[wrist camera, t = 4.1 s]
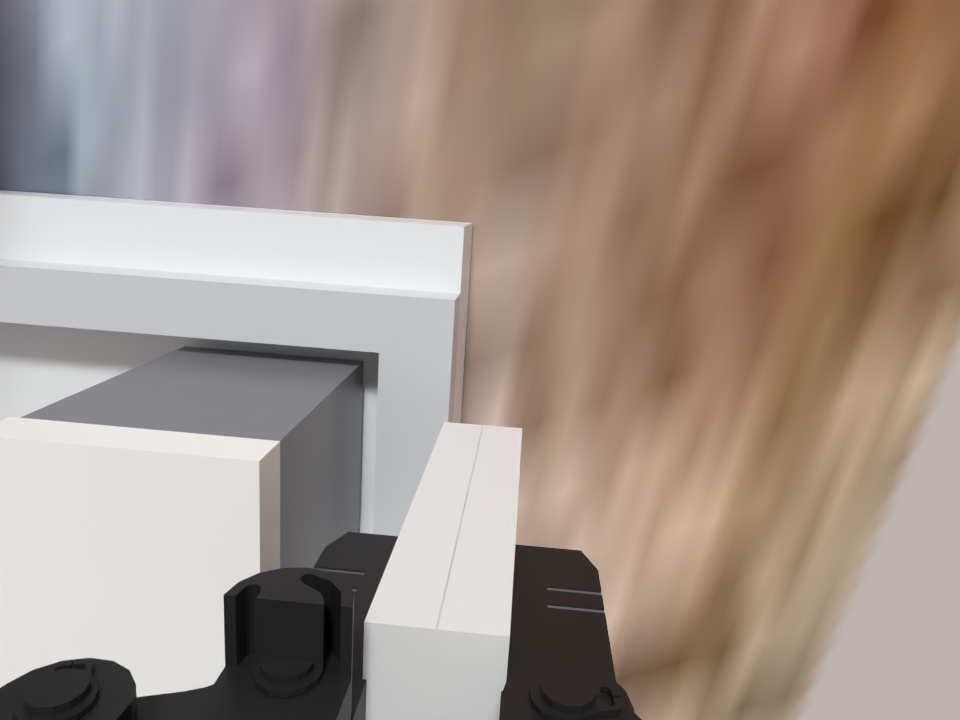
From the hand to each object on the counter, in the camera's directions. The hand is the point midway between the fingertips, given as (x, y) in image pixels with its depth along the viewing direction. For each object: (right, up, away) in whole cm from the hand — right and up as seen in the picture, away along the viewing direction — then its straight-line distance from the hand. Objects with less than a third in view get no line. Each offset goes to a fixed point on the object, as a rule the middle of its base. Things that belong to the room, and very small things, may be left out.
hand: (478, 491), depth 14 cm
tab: (-5, +1, +2) cm, 5 cm away
